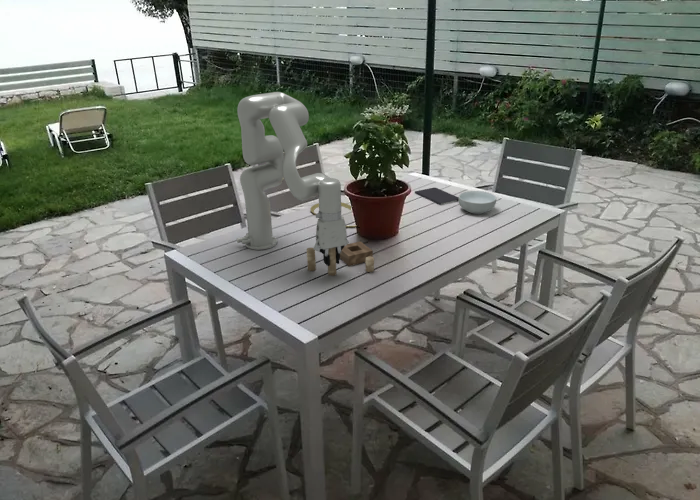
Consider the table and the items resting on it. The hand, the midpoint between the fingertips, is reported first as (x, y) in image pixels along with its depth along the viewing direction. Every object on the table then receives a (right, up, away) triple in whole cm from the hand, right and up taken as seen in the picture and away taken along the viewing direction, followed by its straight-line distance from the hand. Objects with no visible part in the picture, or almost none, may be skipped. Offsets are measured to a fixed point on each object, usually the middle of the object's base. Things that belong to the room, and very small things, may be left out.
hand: (331, 263), depth 195 cm
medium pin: (-7, -2, +5) cm, 10 cm away
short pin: (+14, -3, +4) cm, 14 cm away
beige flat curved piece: (+2, +20, +56) cm, 59 cm away
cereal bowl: (+64, +22, +58) cm, 89 cm away
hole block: (+8, +2, +13) cm, 16 cm away
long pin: (0, -4, +2) cm, 4 cm away
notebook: (+50, +30, +77) cm, 96 cm away
